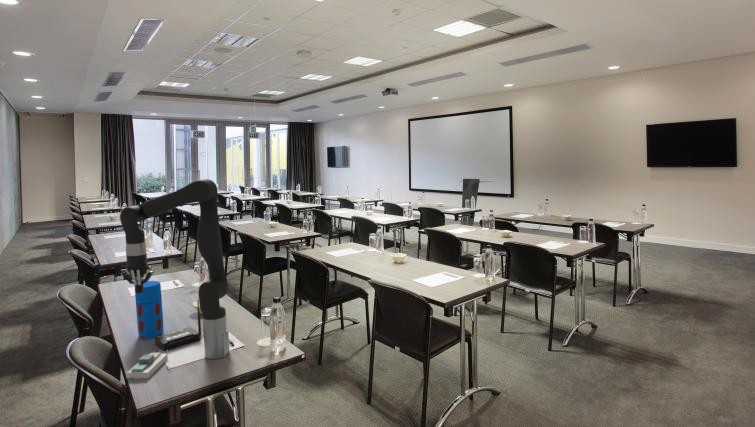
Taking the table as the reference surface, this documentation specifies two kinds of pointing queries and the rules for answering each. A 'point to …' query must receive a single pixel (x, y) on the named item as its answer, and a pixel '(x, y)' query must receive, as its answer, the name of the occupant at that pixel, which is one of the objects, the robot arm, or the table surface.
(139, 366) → the key
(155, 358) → the key
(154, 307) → the thermos
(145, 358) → the key
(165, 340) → the black wifi router
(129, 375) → the keypad
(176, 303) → the table surface
